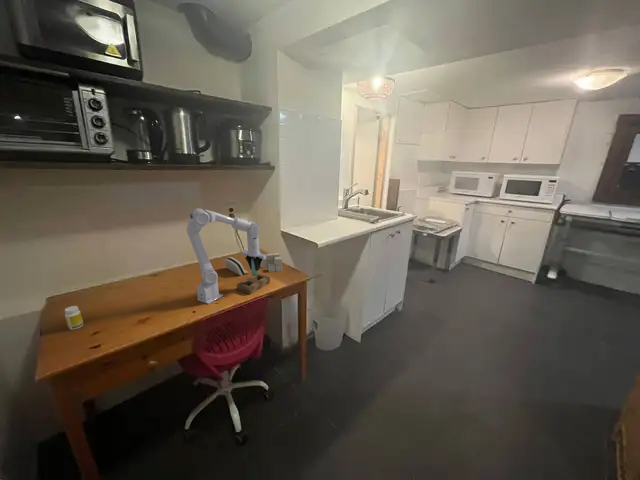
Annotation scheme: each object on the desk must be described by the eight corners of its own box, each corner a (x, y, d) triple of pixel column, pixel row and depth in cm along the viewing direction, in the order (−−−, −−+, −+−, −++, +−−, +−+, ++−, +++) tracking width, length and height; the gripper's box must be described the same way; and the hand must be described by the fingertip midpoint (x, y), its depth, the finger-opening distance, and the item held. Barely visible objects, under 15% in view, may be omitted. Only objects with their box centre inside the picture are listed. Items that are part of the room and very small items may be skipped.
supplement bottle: (86, 323, 115) (82, 305, 113) (77, 330, 111) (72, 311, 108) (74, 323, 115) (69, 305, 113) (65, 330, 110) (59, 311, 108)
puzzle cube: (260, 265, 179) (259, 254, 177) (278, 264, 182) (278, 252, 180) (262, 272, 168) (261, 260, 166) (282, 270, 171) (281, 258, 169)
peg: (255, 276, 146) (254, 260, 143) (251, 275, 147) (249, 259, 144) (259, 274, 148) (258, 258, 145) (254, 273, 149) (253, 257, 147)
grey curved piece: (248, 273, 166) (242, 260, 161) (242, 278, 164) (236, 264, 158) (234, 266, 177) (228, 253, 172) (228, 270, 175) (221, 257, 170)
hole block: (250, 294, 141) (250, 288, 140) (237, 290, 145) (236, 284, 144) (270, 282, 155) (269, 276, 154) (257, 279, 159) (257, 273, 158)
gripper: (269, 245, 143) (270, 269, 147) (248, 241, 149) (249, 264, 153) (260, 248, 137) (261, 274, 141) (238, 244, 143) (240, 268, 147)
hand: (254, 269), depth 147 cm, fingers closed on peg, 3 cm apart
